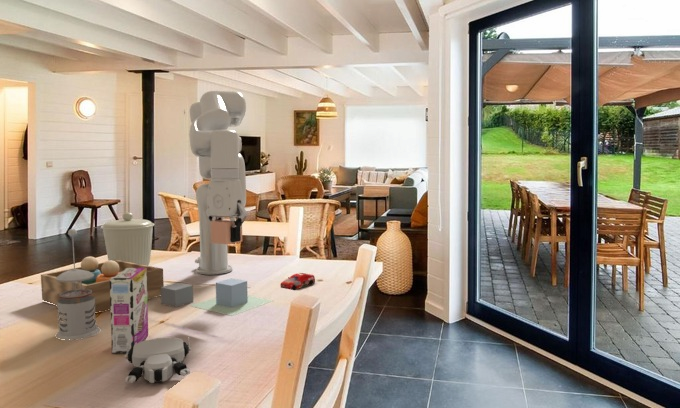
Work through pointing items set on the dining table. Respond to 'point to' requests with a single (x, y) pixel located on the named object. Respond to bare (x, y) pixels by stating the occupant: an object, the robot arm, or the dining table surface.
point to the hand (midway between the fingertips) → (226, 239)
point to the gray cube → (176, 294)
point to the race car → (298, 281)
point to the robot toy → (157, 359)
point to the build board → (230, 311)
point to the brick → (222, 232)
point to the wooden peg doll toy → (107, 269)
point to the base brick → (231, 292)
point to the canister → (129, 239)
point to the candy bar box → (128, 308)
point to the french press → (76, 305)
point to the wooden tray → (99, 285)
